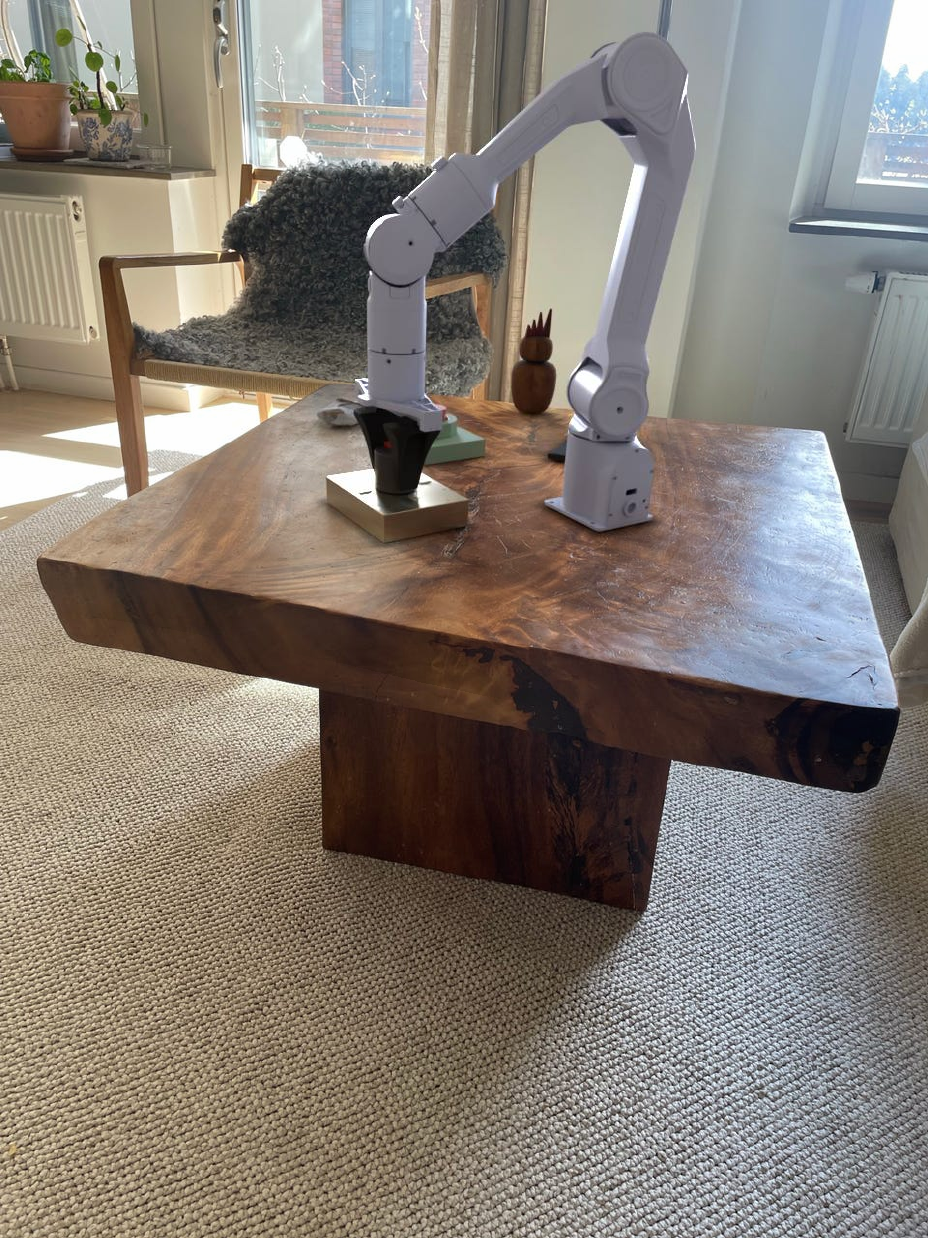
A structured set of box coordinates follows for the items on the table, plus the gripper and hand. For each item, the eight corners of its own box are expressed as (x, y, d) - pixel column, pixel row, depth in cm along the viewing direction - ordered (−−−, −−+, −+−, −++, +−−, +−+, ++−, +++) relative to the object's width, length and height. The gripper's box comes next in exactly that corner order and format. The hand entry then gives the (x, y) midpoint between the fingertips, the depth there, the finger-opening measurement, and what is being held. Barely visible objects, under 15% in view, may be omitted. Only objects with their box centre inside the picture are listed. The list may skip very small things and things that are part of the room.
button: (451, 422, 115) (451, 409, 114) (427, 425, 113) (427, 411, 112) (436, 415, 117) (436, 402, 117) (412, 418, 116) (413, 405, 115)
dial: (424, 490, 93) (425, 450, 91) (387, 496, 91) (387, 455, 89) (403, 477, 96) (403, 439, 94) (367, 483, 94) (367, 444, 92)
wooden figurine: (553, 407, 138) (562, 307, 132) (552, 417, 133) (562, 312, 126) (510, 404, 139) (516, 304, 132) (507, 414, 134) (515, 309, 127)
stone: (341, 410, 132) (340, 392, 130) (386, 416, 129) (386, 398, 128) (310, 426, 123) (309, 407, 122) (358, 432, 121) (357, 413, 120)
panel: (467, 526, 93) (469, 497, 91) (383, 543, 88) (383, 513, 86) (405, 488, 102) (406, 462, 101) (326, 502, 97) (325, 474, 96)
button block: (484, 455, 115) (486, 425, 113) (425, 465, 110) (426, 433, 108) (436, 432, 123) (437, 403, 122) (379, 439, 119) (379, 410, 117)
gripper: (327, 338, 90) (330, 467, 97) (397, 367, 80) (396, 509, 86) (388, 334, 94) (387, 458, 100) (463, 361, 83) (457, 498, 90)
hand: (395, 481), depth 93 cm, fingers closed on dial, 4 cm apart
